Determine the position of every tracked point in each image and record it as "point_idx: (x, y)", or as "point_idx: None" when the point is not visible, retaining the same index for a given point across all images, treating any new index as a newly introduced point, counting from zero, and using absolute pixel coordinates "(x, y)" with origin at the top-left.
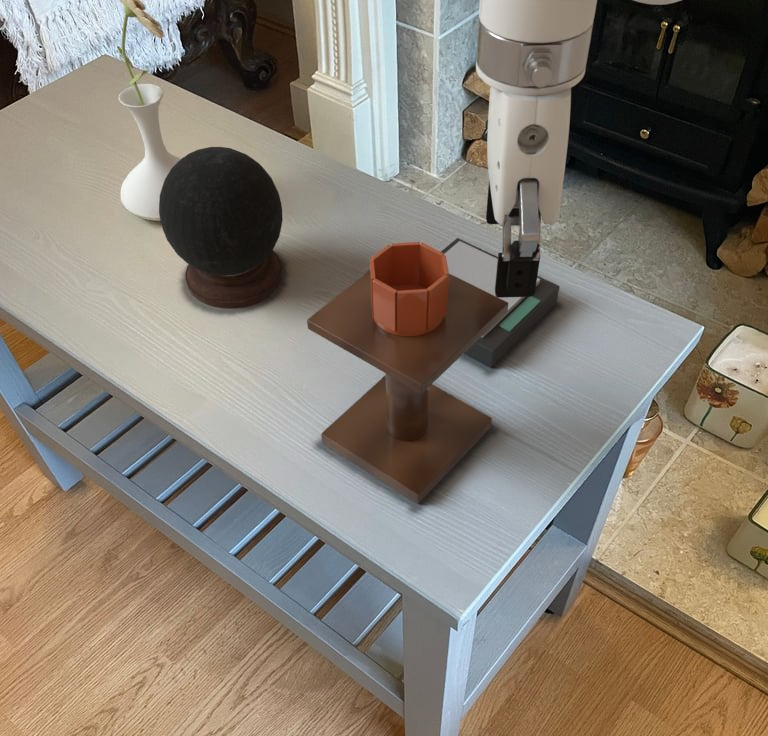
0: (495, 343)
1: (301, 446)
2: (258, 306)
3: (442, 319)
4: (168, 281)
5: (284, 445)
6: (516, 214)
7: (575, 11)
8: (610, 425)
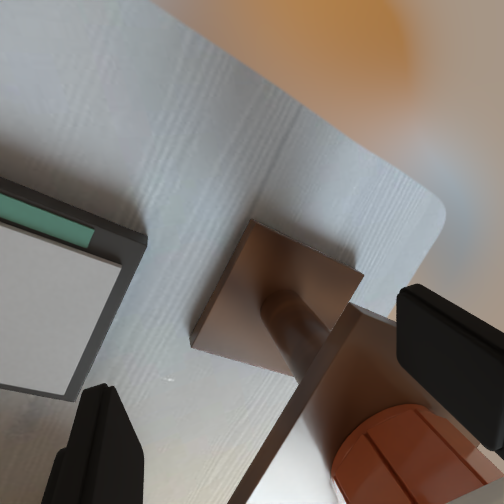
0: (128, 245)
1: None
2: None
3: (411, 405)
4: None
5: None
6: (113, 421)
7: None
8: (217, 54)
